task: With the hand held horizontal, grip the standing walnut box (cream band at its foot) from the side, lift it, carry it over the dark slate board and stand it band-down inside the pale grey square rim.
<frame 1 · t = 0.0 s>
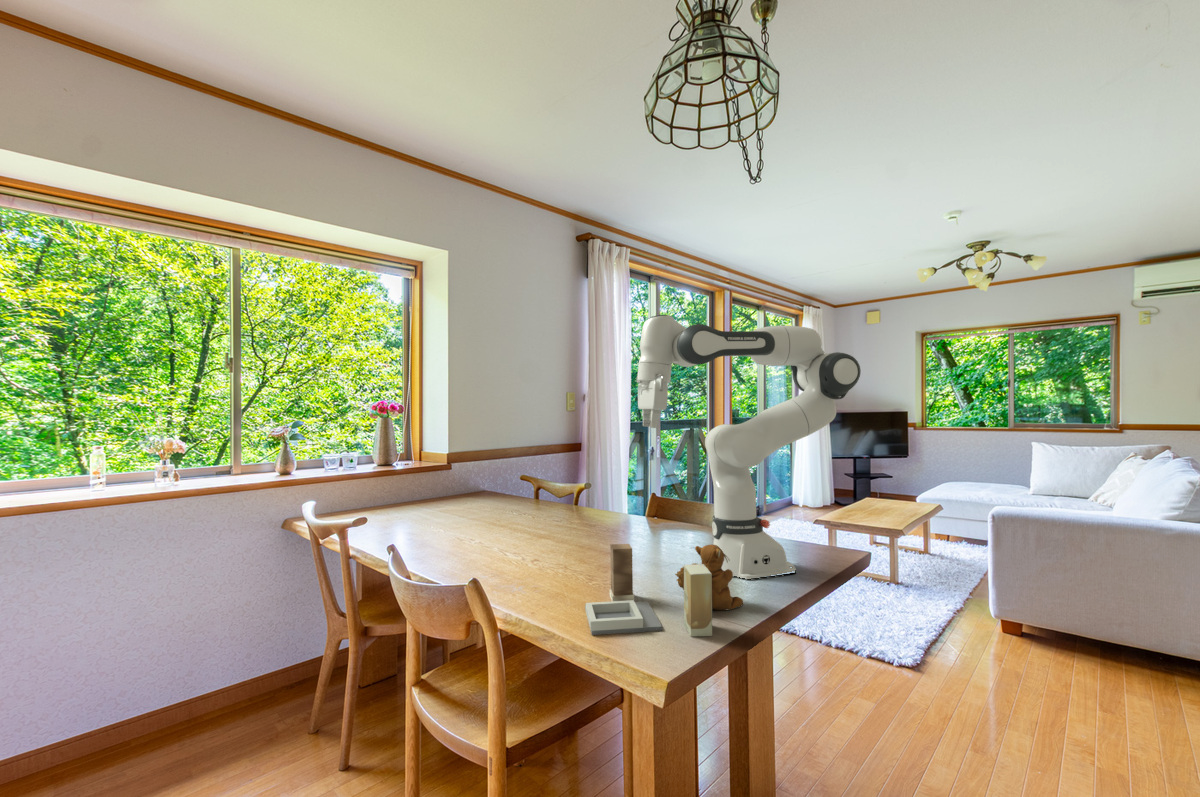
hand: (649, 427, 144), 39 cm above the table, tool pointing down, fingers open, 8 cm apart
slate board: (621, 618, 113), on the table
stuffed squirrel: (708, 607, 120), on the table
skincare box: (698, 631, 107), on the table
walnut box: (621, 598, 125), on the table
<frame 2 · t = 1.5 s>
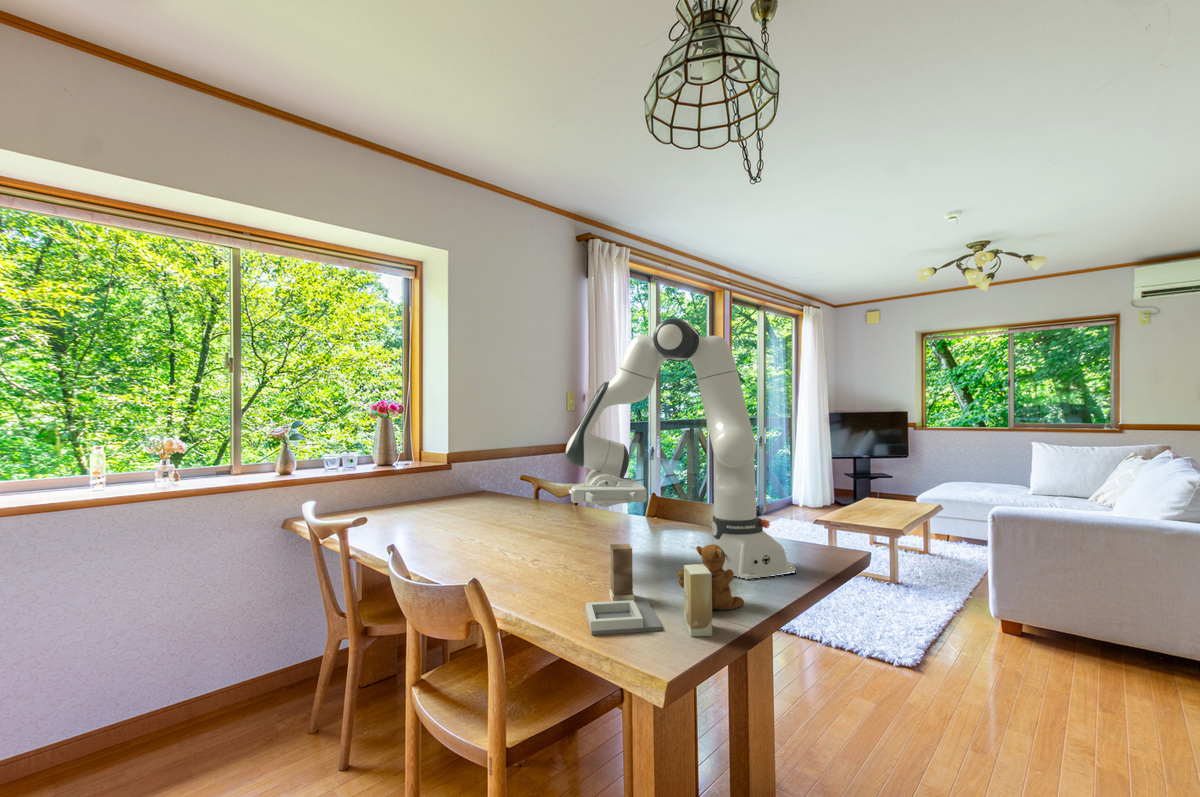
hand: (612, 499, 137), 21 cm above the table, tool horizontal, fingers open, 8 cm apart
nothing on the table moved.
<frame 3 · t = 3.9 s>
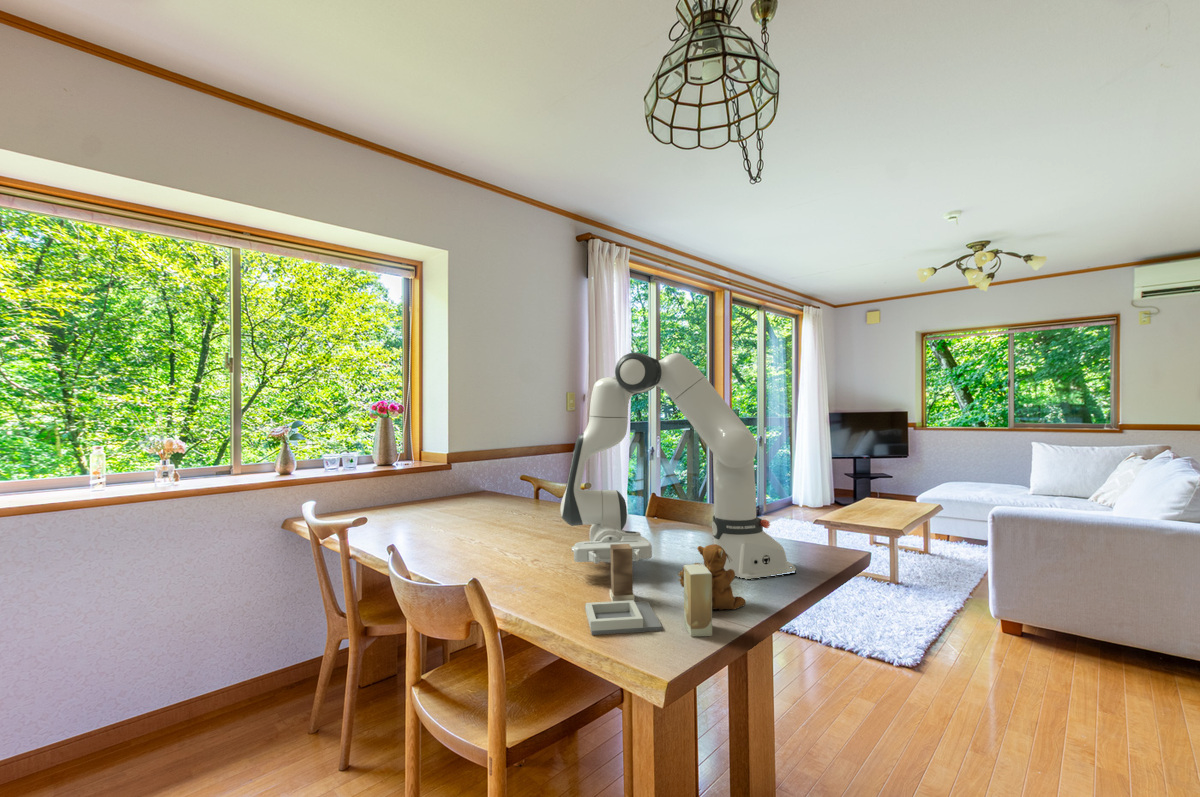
hand: (616, 559, 133), 7 cm above the table, tool horizontal, fingers open, 8 cm apart
nothing on the table moved.
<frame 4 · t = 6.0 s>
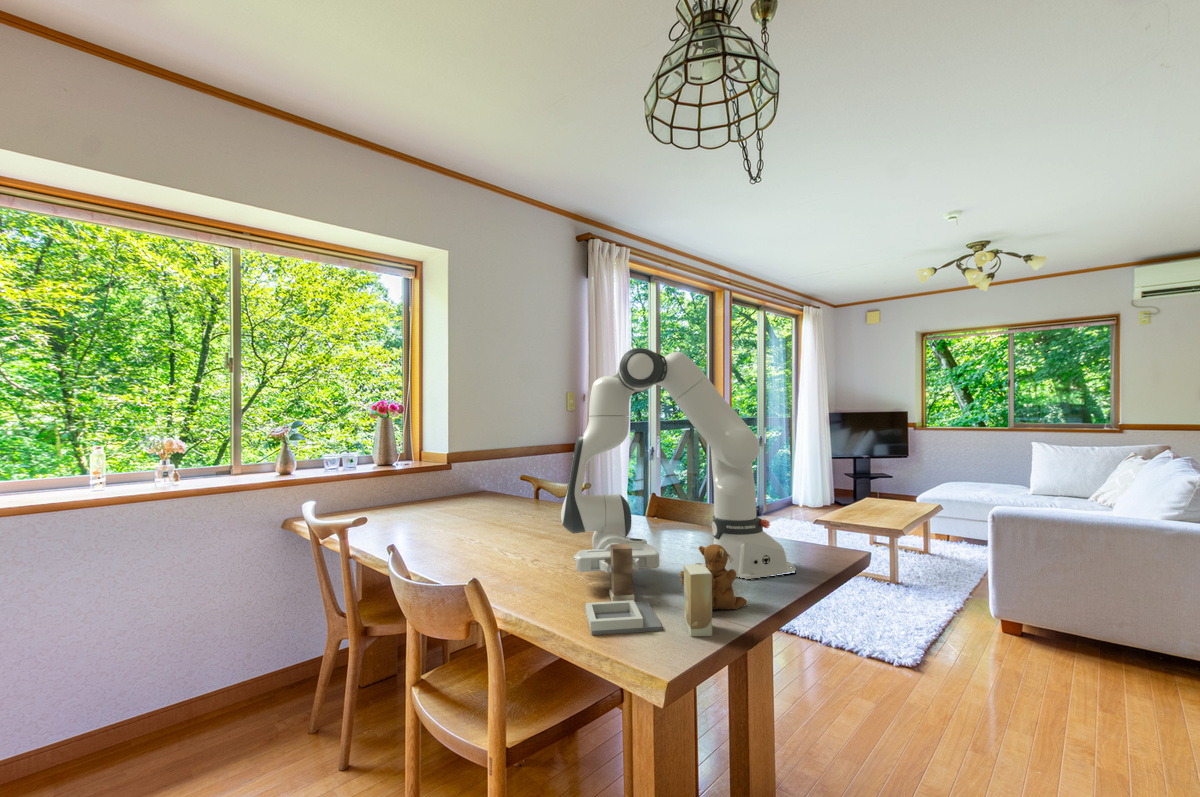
hand: (622, 569, 125), 7 cm above the table, tool horizontal, fingers closed on walnut box, 4 cm apart
walnut box: (621, 598, 125), on the table, touching gripper
everything else where it was.
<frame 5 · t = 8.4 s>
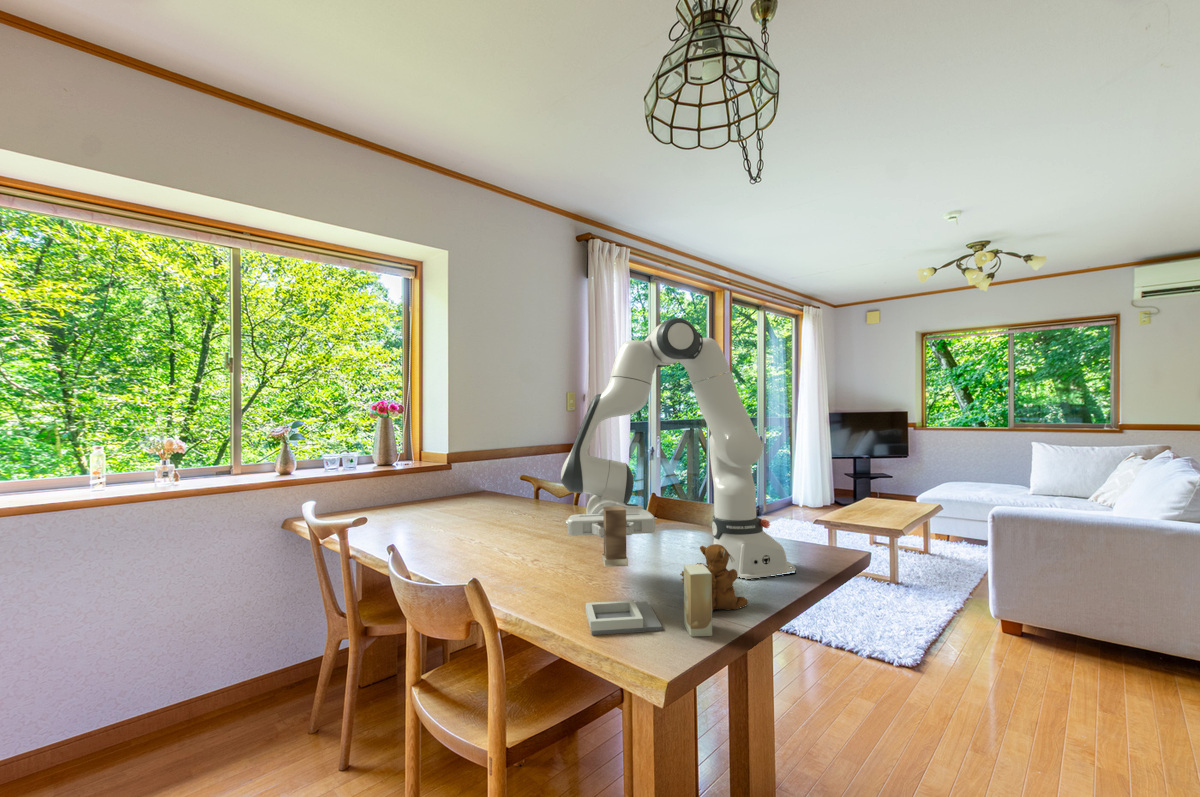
hand: (615, 532, 118), 17 cm above the table, tool horizontal, fingers closed on walnut box, 4 cm apart
walnut box: (615, 563, 119), point 10 cm above the table, touching gripper
when the fingers open (9 cm above the table, at t = 10.9 s): walnut box drops 1 cm, resting on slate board.
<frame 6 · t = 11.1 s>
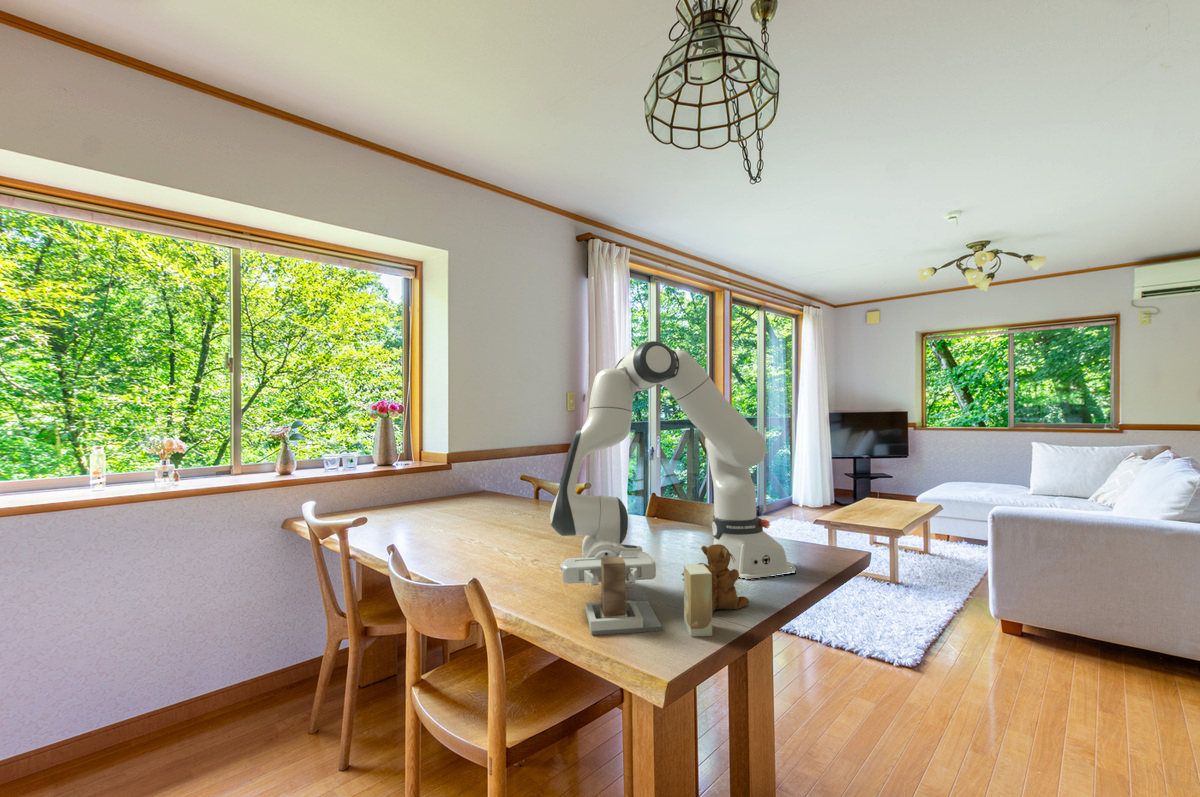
hand: (613, 580, 110), 9 cm above the table, tool horizontal, fingers open, 6 cm apart
walnut box: (613, 619, 111), point 1 cm above the table, touching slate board
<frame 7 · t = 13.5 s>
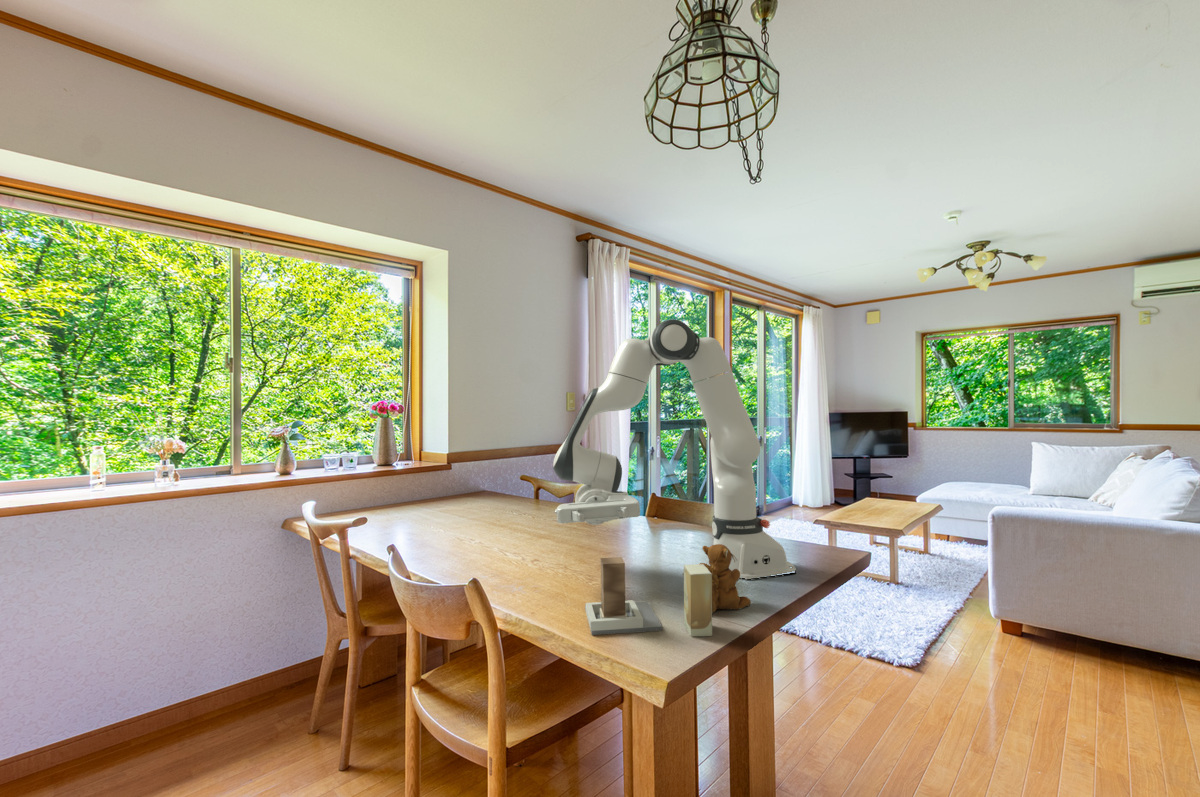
hand: (601, 516, 125), 19 cm above the table, tool horizontal, fingers open, 8 cm apart
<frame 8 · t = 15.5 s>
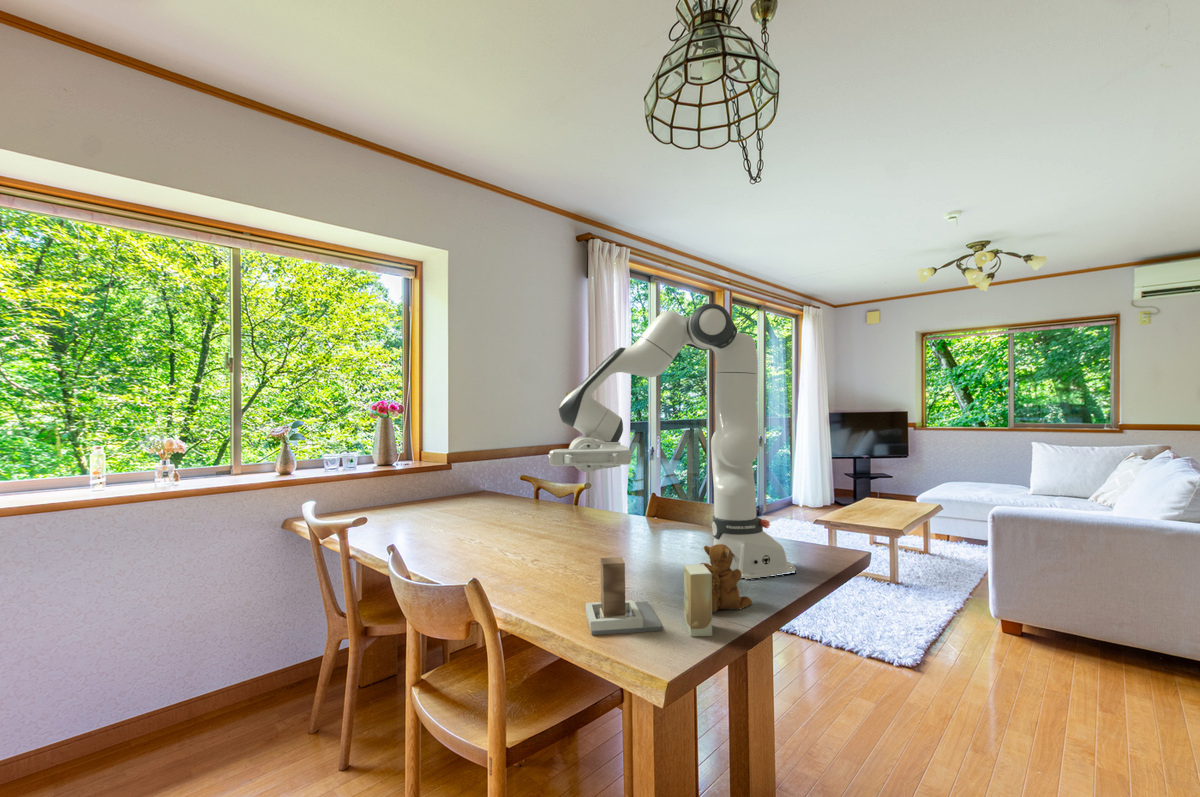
hand: (593, 459, 127), 32 cm above the table, tool horizontal, fingers open, 8 cm apart
at the end: walnut box inside the target area on the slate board (0.0 cm from its centre), point 0.8 cm above the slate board's base; walnut box tilted 0°; the gripper is holding nothing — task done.
